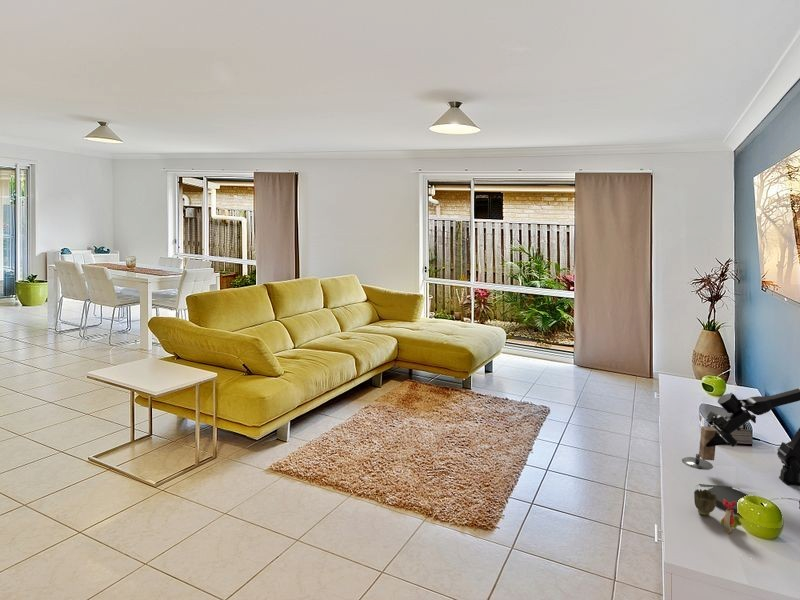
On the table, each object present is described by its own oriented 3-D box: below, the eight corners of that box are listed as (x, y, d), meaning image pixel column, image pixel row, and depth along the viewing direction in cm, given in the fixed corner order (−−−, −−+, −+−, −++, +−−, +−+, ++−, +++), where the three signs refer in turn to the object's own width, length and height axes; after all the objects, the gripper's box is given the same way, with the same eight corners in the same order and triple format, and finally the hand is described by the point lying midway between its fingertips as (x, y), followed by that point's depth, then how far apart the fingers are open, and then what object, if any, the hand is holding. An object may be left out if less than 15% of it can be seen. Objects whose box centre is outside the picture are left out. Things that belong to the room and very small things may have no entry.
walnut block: (710, 455, 226) (712, 426, 224) (714, 460, 222) (717, 430, 220) (698, 455, 227) (701, 426, 225) (702, 459, 222) (705, 430, 220)
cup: (687, 510, 196) (689, 490, 195) (702, 507, 199) (704, 487, 198) (705, 521, 189) (707, 500, 188) (720, 517, 192) (722, 497, 191)
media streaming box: (699, 497, 206) (700, 490, 206) (724, 490, 212) (725, 483, 212) (736, 517, 193) (737, 509, 193) (762, 508, 199) (762, 501, 199)
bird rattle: (738, 541, 181) (742, 521, 187) (740, 519, 176) (744, 499, 182) (717, 535, 185) (722, 515, 191) (718, 513, 180) (723, 493, 186)
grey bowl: (706, 460, 238) (707, 449, 237) (717, 472, 226) (718, 461, 226) (677, 458, 240) (678, 447, 239) (687, 470, 228) (688, 459, 227)
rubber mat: (721, 477, 222) (721, 476, 222) (732, 489, 213) (732, 487, 213) (691, 474, 224) (691, 473, 224) (700, 486, 215) (700, 485, 214)
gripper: (712, 399, 229) (683, 421, 233) (731, 414, 211) (698, 438, 215) (731, 418, 229) (701, 440, 232) (751, 435, 211) (718, 458, 214)
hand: (704, 443), depth 223 cm, fingers closed on walnut block, 4 cm apart
